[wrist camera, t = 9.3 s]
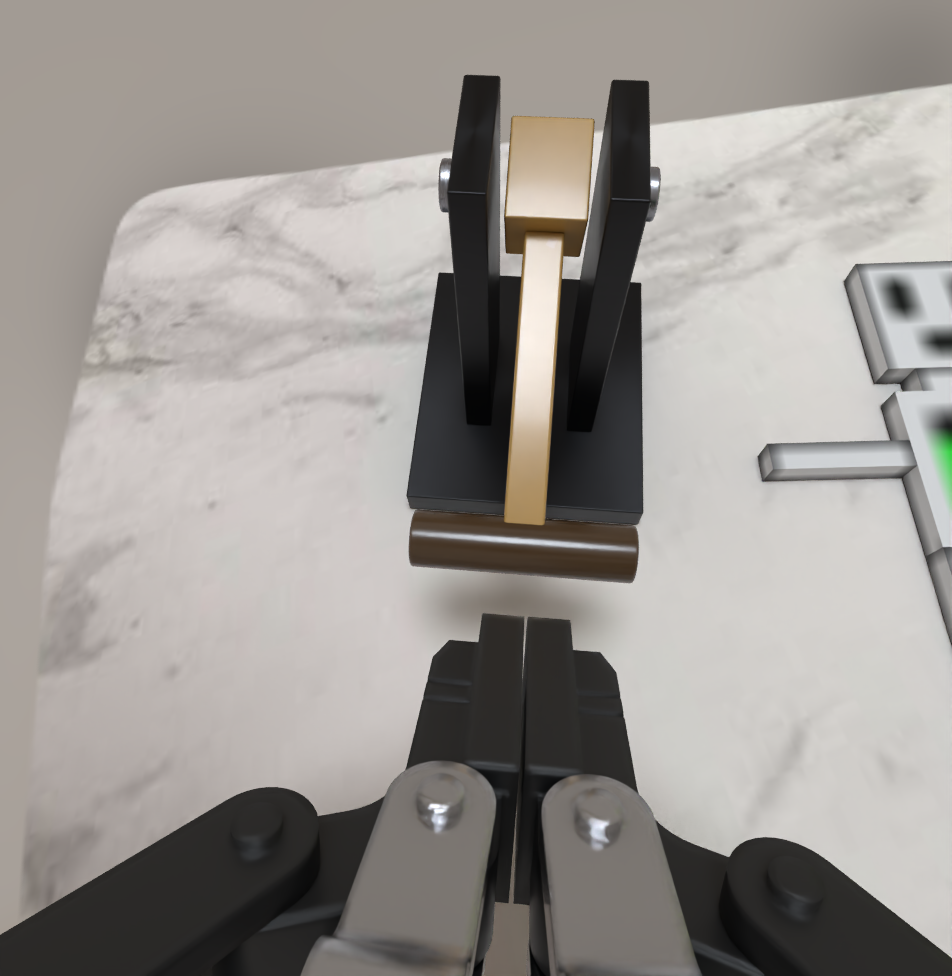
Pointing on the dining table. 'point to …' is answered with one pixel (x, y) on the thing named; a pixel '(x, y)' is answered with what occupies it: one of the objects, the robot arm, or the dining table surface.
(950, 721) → the dining table surface
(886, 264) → the robot figure
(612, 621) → the dining table surface
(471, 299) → the bracket
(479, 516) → the lock lever
